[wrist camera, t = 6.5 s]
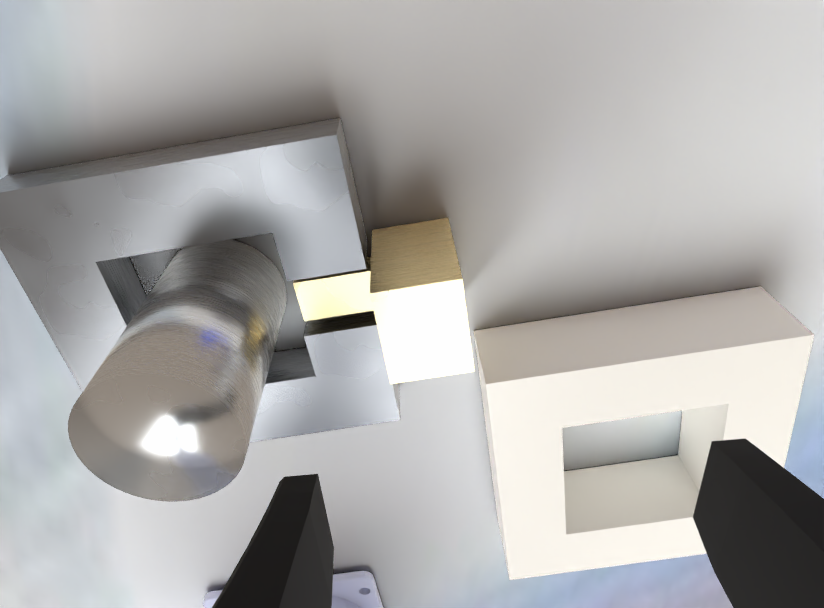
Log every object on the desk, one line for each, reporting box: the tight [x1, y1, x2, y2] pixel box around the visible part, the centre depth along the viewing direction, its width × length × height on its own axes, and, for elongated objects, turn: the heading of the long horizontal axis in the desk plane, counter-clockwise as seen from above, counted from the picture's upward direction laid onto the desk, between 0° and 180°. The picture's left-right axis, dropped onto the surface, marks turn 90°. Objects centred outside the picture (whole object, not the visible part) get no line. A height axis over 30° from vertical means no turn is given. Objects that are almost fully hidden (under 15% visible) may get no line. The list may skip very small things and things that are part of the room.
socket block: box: [0, 118, 400, 442], centre depth 19 cm, size 10×10×2 cm
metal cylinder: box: [68, 240, 287, 501], centre depth 17 cm, size 4×4×7 cm
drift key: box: [293, 218, 475, 384], centre depth 18 cm, size 3×5×4 cm, turn 99°
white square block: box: [474, 286, 814, 580], centre depth 22 cm, size 10×10×3 cm
